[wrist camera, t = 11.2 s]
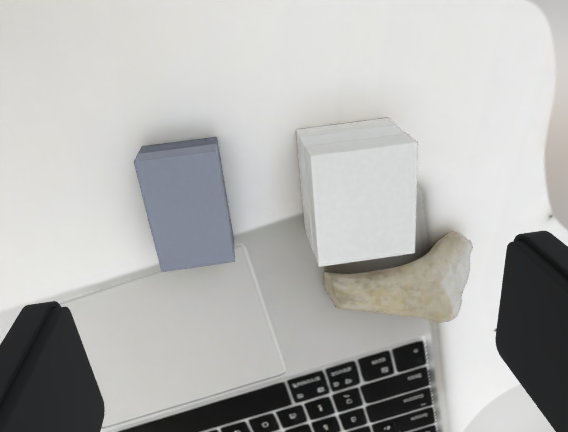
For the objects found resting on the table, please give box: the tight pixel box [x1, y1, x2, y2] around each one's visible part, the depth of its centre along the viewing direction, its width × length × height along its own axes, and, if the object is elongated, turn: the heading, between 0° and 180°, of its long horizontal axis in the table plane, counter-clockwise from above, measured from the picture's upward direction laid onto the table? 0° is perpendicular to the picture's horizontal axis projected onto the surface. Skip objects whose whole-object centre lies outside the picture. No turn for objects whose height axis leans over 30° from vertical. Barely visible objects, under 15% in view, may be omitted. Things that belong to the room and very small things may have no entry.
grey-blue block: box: [134, 137, 235, 272], centre depth 32 cm, size 8×5×3 cm, turn 5°
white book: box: [306, 134, 418, 267], centre depth 30 cm, size 8×6×2 cm
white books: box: [296, 118, 406, 252], centre depth 33 cm, size 8×6×4 cm
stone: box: [324, 231, 473, 323], centre depth 37 cm, size 11×6×5 cm, turn 106°
